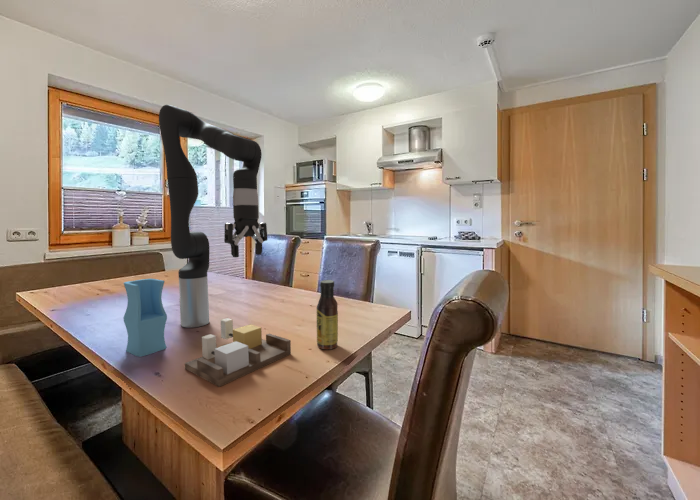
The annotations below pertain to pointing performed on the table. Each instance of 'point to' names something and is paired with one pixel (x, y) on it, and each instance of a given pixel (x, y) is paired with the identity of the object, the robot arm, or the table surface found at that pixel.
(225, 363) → the white block with handle
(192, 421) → the table surface
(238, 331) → the ochre block
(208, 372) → the lane rack
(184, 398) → the table surface
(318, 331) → the sauce bottle
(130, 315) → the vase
